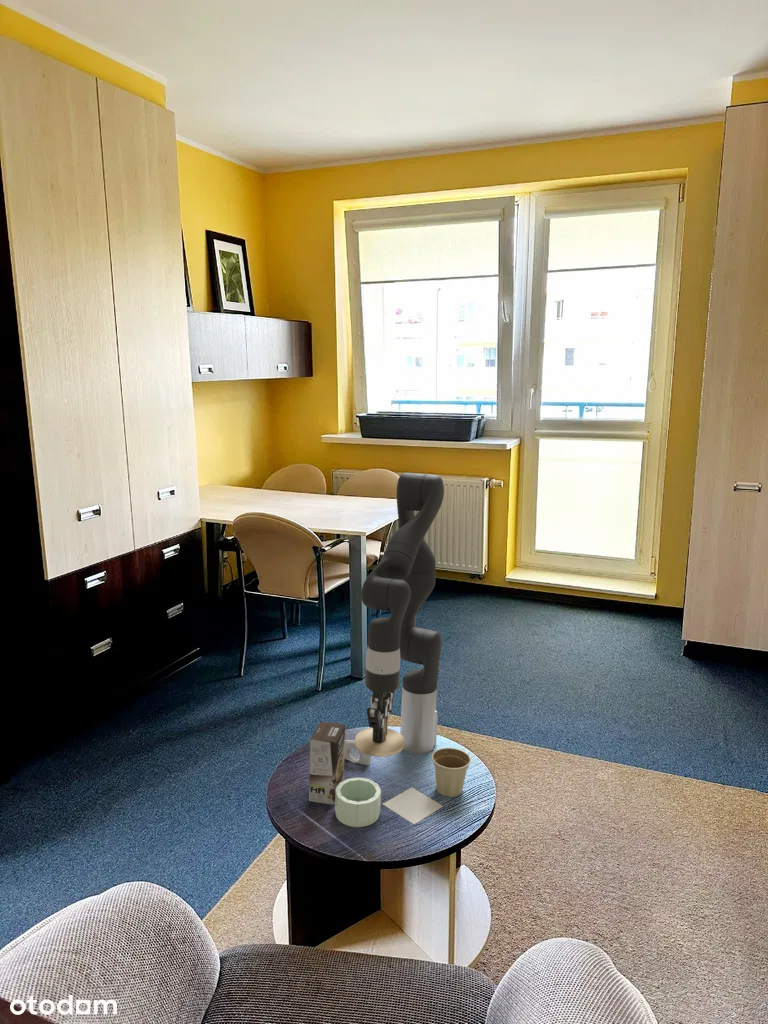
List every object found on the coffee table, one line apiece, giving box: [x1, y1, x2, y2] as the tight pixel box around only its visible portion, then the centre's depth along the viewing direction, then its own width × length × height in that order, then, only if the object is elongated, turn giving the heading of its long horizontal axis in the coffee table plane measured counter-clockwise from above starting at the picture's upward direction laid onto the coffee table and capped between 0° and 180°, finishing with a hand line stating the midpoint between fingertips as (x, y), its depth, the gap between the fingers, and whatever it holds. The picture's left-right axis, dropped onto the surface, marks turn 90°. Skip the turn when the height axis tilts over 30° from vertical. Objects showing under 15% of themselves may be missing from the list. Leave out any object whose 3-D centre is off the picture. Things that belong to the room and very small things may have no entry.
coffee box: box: [308, 721, 346, 806], centre depth 164 cm, size 9×6×16 cm
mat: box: [382, 787, 444, 825], centre depth 162 cm, size 10×10×1 cm
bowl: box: [334, 777, 382, 828], centre depth 158 cm, size 10×10×6 cm
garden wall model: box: [344, 739, 372, 766], centre depth 180 cm, size 12×2×6 cm, turn 63°
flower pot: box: [431, 747, 472, 798], centre depth 168 cm, size 9×9×9 cm
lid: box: [354, 718, 404, 758], centre depth 155 cm, size 11×11×6 cm
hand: (379, 738), depth 156 cm, fingers closed on lid, 2 cm apart
